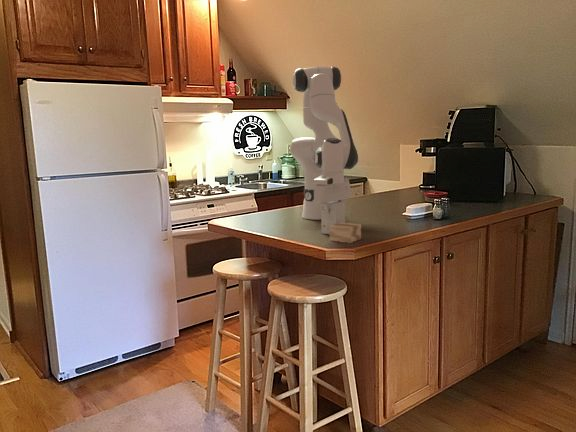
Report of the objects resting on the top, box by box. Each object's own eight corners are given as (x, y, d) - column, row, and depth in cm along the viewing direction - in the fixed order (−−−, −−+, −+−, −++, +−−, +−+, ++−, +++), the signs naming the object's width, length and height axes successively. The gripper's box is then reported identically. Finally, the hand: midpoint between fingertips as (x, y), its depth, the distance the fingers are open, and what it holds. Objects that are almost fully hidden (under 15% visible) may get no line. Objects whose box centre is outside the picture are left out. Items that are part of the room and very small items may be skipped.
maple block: (341, 236, 212) (341, 222, 211) (361, 239, 207) (361, 224, 206) (329, 240, 205) (329, 225, 204) (349, 243, 200) (349, 228, 199)
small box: (345, 233, 218) (345, 202, 215) (336, 235, 213) (336, 204, 211) (330, 230, 223) (330, 200, 221) (320, 233, 218) (320, 202, 216)
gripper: (342, 175, 224) (342, 207, 226) (311, 180, 209) (311, 214, 211) (354, 176, 219) (354, 209, 222) (323, 181, 205) (323, 216, 207)
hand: (333, 211), depth 216 cm, fingers closed on small box, 6 cm apart
